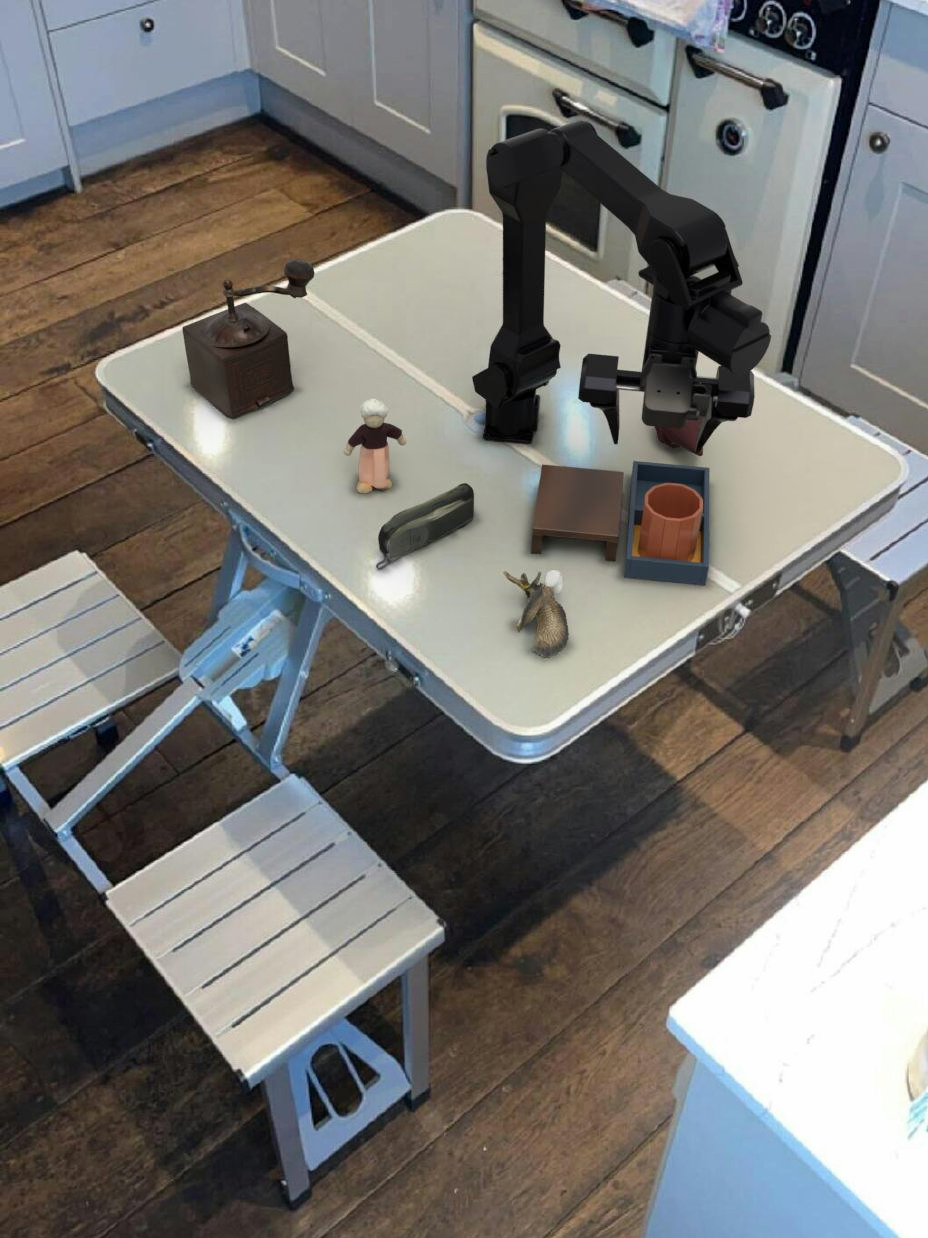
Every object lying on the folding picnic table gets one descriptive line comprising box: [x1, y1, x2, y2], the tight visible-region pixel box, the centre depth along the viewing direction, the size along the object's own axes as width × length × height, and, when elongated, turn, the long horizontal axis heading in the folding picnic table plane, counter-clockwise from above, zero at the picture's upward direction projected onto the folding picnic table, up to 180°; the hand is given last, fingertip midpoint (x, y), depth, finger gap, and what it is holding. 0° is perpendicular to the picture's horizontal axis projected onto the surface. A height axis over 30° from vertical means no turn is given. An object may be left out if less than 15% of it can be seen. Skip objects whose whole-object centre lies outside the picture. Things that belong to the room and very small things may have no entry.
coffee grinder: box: [181, 258, 316, 420], centre depth 170 cm, size 16×11×18 cm
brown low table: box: [530, 464, 625, 562], centre depth 155 cm, size 10×12×4 cm
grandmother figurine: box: [343, 398, 407, 494], centre depth 157 cm, size 8×4×13 cm, turn 117°
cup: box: [638, 483, 703, 562], centre depth 149 cm, size 7×7×8 cm
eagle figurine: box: [503, 569, 570, 658], centre depth 142 cm, size 8×7×9 cm
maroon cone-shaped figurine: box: [653, 416, 704, 457], centre depth 165 cm, size 7×7×15 cm
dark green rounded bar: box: [375, 482, 475, 570], centre depth 152 cm, size 5×3×15 cm
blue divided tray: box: [623, 460, 711, 586], centre depth 155 cm, size 9×18×3 cm, turn 172°
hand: (656, 446), depth 147 cm, fingers open, 9 cm apart
